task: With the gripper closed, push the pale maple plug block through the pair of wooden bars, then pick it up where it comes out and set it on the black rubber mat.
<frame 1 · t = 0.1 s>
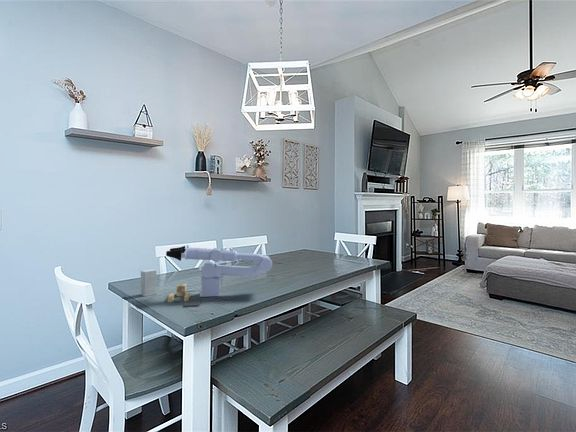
hand: (168, 252, 142), 22 cm above the table, tool horizontal, fingers open, 7 cm apart
rubber mat: (192, 304, 132), on the table
pair of wooden bars: (179, 299, 138), on the table
skincare box: (148, 294, 145), on the table
plug block: (181, 295, 145), on the table
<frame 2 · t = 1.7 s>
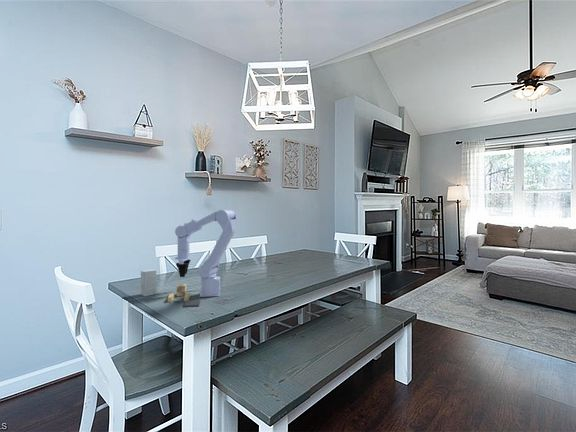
hand: (183, 275, 150), 8 cm above the table, tool pointing down, fingers open, 6 cm apart
nothing on the table moved.
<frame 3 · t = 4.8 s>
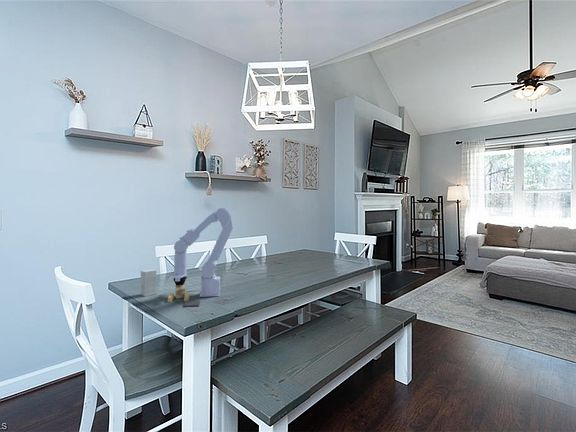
hand: (179, 292, 143), 2 cm above the table, tool pointing down, fingers closed, pressing on plug block
plug block: (180, 296, 142), on the table, tilted 17°, touching gripper
everything else where it was.
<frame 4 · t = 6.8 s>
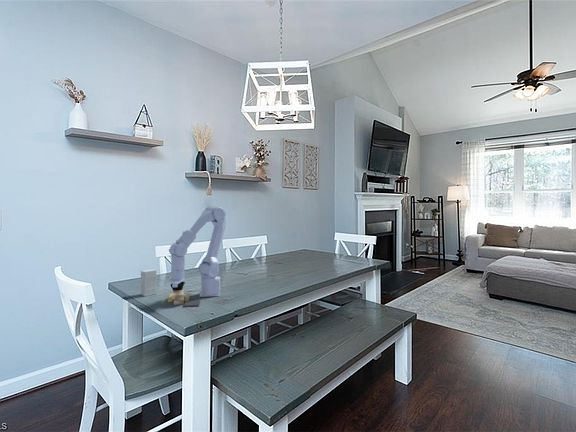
hand: (177, 298, 135), 1 cm above the table, tool pointing down, fingers closed
plug block: (178, 302, 133), point 1 cm above the table, tilted 17°, touching gripper
everything else where it was.
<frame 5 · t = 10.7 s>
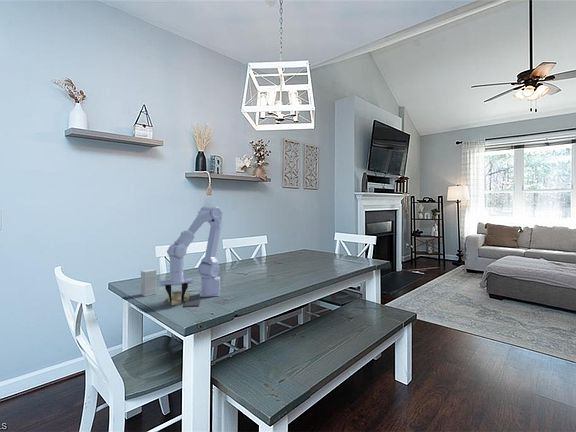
hand: (176, 300, 132), 1 cm above the table, tool pointing down, fingers closed on plug block, 4 cm apart
plug block: (176, 303, 132), on the table, touching gripper
everything else where it was.
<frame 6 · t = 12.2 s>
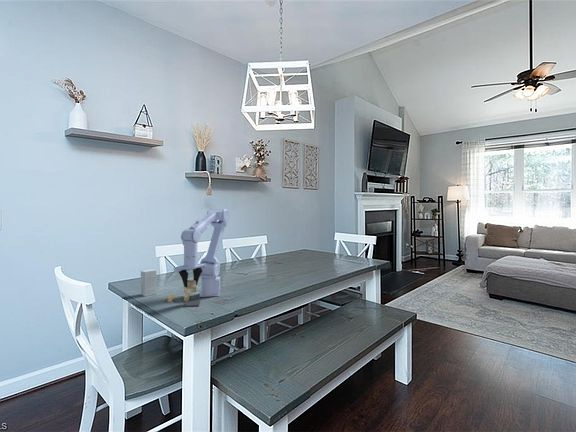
hand: (190, 285, 132), 8 cm above the table, tool pointing down, fingers closed on plug block, 4 cm apart
plug block: (190, 291, 132), point 5 cm above the table, touching gripper
everything else where it was.
when the fingers open (3 cm above the table, at t = 13.9 s): plug block stays where it is, resting on rubber mat.
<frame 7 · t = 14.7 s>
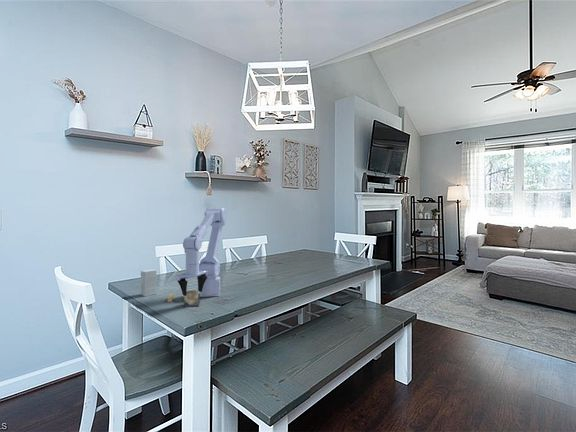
hand: (192, 293, 132), 5 cm above the table, tool pointing down, fingers open, 7 cm apart
plug block: (191, 302, 132), point 1 cm above the table, touching rubber mat
everything else where it was.
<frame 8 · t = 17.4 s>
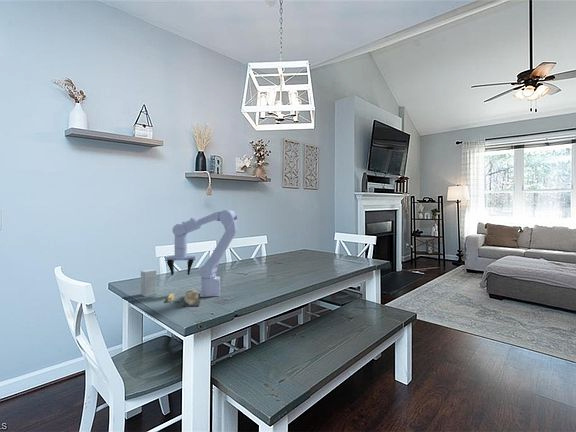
hand: (180, 274, 147), 9 cm above the table, tool pointing down, fingers open, 7 cm apart
nothing on the table moved.
at the end: plug block 0.3 cm from the target spot, point 0.6 cm above the table; plug block tilted 0°; the gripper is holding nothing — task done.
